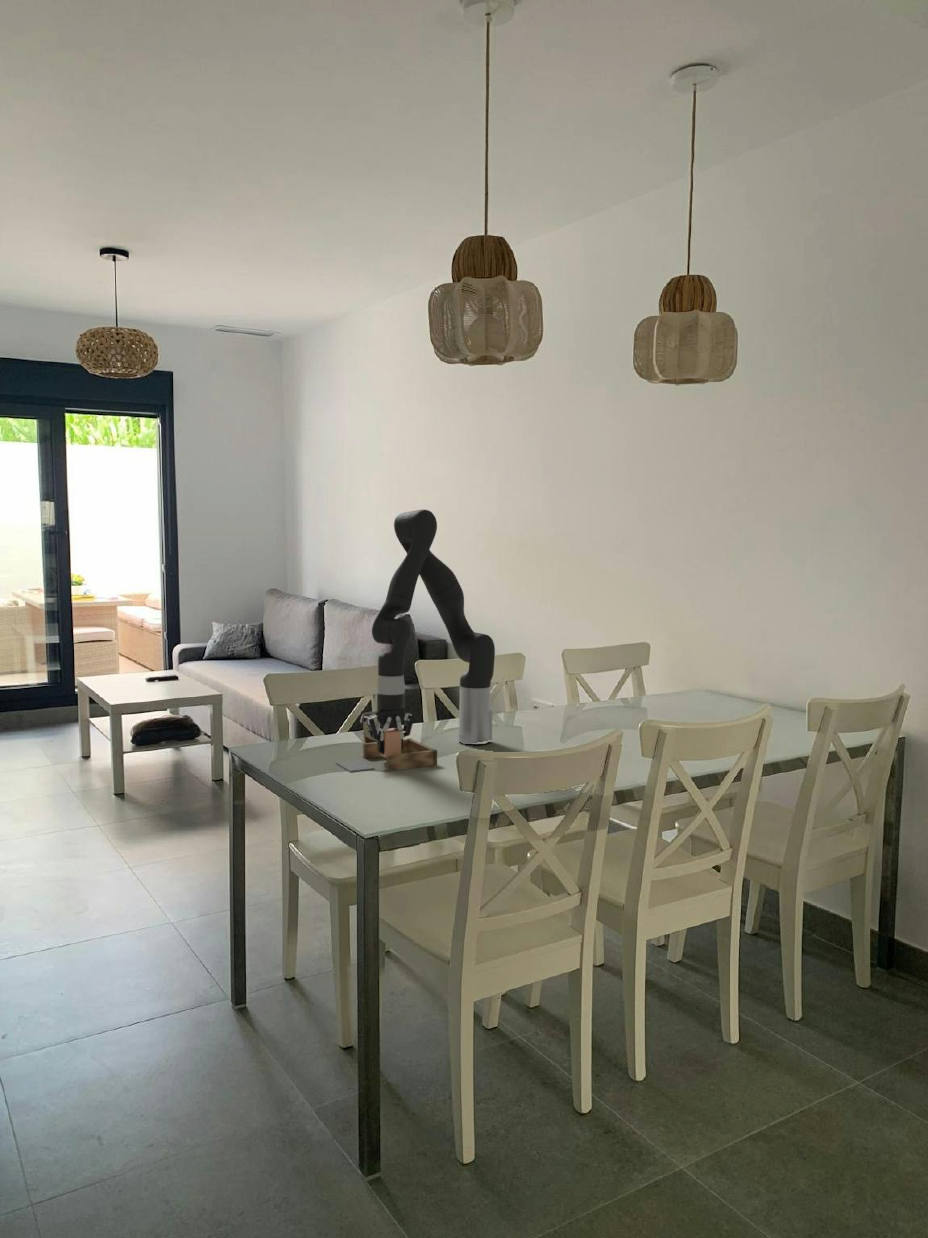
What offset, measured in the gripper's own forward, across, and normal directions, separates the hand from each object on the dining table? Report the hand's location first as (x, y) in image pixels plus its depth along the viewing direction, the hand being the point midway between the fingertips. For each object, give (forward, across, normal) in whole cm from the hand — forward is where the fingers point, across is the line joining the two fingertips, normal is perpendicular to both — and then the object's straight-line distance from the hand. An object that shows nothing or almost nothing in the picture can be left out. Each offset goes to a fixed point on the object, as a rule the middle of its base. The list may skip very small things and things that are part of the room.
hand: (390, 752), depth 265 cm
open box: (+3, -3, 0) cm, 4 cm away
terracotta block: (+1, 0, 0) cm, 1 cm away
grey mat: (+3, +10, 0) cm, 11 cm away
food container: (+3, -5, -19) cm, 20 cm away
